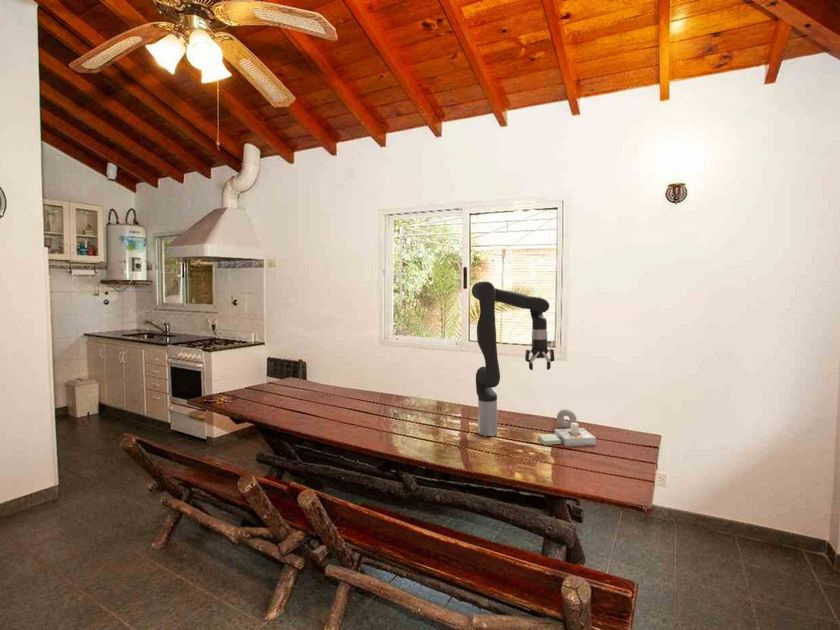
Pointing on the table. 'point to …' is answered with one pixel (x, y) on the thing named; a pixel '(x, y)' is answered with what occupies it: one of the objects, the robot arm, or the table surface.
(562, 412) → the donut
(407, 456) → the table surface
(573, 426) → the peg
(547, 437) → the square base plate
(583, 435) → the flange
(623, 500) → the table surface
